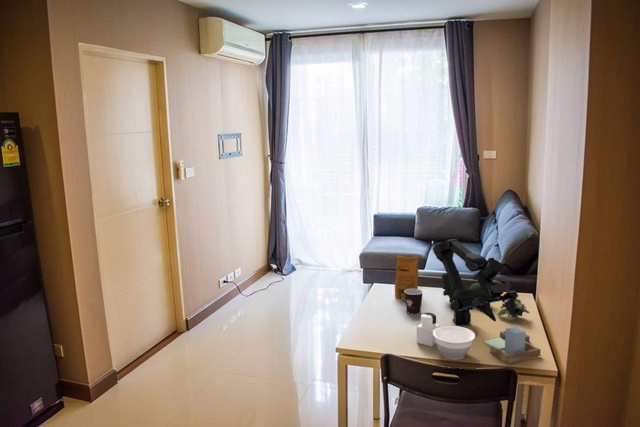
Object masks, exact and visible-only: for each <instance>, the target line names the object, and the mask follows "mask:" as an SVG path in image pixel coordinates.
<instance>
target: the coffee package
mask: <svg viewBox="0 0 640 427" xmlns="http://www.w3.org/2000/svg"><path fill="white" fill-rule="evenodd" d="M418 266H419V257H418V256H409V257H406V256H402V255H397V258H396V271H395V281H394V297H396V298H400V296H399V293H400V292H401V291H403V292H404V291H405V290H407V289H419V288H418V283H419V281H418V280H419V267H418ZM400 295H401V297H402V298H403V300H405V294H404V293H401V294H400ZM396 298H395V299H396Z"/></svg>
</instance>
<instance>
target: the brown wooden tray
mask: <svg viewBox="0 0 640 427" xmlns="http://www.w3.org/2000/svg"><path fill="white" fill-rule="evenodd" d="M541 351H542V350H541V348H539V347H537V346H535V345H533V344H532V343H529V341H527V342H526V341H525V352H520V353H516V354H511V355H508V354H507V353H505V351H503V349H501V350H500V349H498V348H497V347H495V346H493V345H490V346H489V353H490V354H491V355H493V356H495V357H496V358H498V359H499V360H501V361H502V362H505V363H506V364H507V365H510V364H514V363H515V364H516V363H519V362H524V361H528V359H529V360H532V358H533V359H536V358H535V357H537V358H539V357H538V356H540V357H541Z"/></svg>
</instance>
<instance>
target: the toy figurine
mask: <svg viewBox="0 0 640 427" xmlns="http://www.w3.org/2000/svg"><path fill="white" fill-rule="evenodd" d="M458 273H459V274H460V271H459V270H458ZM441 279H442V280H441V283H442V290H443V292H442V295H443V296H444V297H446V296H448V298H449V303H450V304H451V303H452V302H453V301H454V300H453V295H454V290H453V287H452V285H451V282H450V280H449V277H448V275H447V272H443V273H442V274H441ZM468 289H470V290H471V291H472V294H473V296H474V299H476V298H477V297H481V296H485V295H484V293H481V291H480V290H481V287H480V285H479V283H478V282H475V283H472V284H471V285H470V286H469V288H468Z"/></svg>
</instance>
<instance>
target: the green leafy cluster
mask: <svg viewBox="0 0 640 427" xmlns="http://www.w3.org/2000/svg"><path fill="white" fill-rule="evenodd" d="M501 304H502V305H501V306H500V308H499V309H500V310H499V311H498V312H497V313H496V316H498V317H502V316H505V315H507V318H508V319H509V320H511V323H513V321H514V320H515V318H516V317H523V313H525V314H526V313H527V314H530V311H529V310H528V309H527V308H526V306H525V304H524V303H522V300H520V299H518V298H517V299H516V300H515V301H514V309H515V318H513V317H512V316H511V314H510V313H509V311H508V310H507V309H506V307H505V306H504V304H505V303H504V302H502V303H501ZM511 318H512V319H511Z"/></svg>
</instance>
